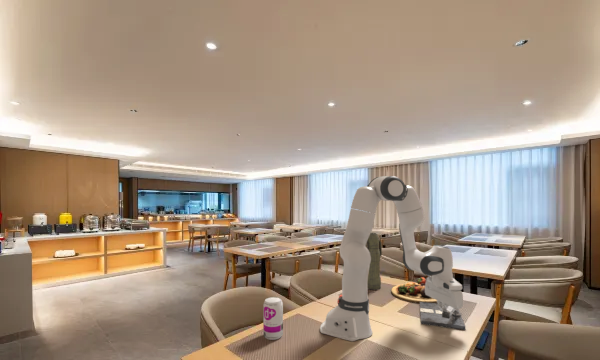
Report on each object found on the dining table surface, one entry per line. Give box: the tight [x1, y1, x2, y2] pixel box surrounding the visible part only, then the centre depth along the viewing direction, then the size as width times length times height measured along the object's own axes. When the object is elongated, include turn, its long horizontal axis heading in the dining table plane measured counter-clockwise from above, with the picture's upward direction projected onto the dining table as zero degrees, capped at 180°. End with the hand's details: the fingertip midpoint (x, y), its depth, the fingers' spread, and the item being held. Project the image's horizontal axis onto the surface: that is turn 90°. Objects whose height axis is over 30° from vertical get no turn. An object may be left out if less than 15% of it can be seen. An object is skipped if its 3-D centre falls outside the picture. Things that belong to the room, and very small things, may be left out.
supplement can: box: [262, 296, 284, 341], centre depth 125 cm, size 8×8×15 cm
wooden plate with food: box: [390, 276, 438, 305], centre depth 176 cm, size 32×32×8 cm
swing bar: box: [442, 306, 455, 319], centre depth 136 cm, size 21×4×2 cm, turn 140°
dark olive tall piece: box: [365, 232, 383, 291], centre depth 190 cm, size 9×12×35 cm
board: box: [419, 302, 466, 331], centre depth 144 cm, size 18×26×5 cm
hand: (442, 311), depth 134 cm, fingers closed
